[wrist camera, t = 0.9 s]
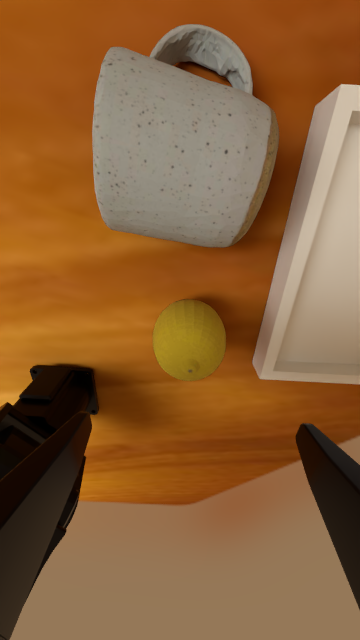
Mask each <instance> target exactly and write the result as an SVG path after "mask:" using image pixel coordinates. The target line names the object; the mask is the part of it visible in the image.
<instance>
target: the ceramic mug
mask: <svg viewBox="0 0 360 640" xmlns="http://www.w3.org/2000/svg"><path fill="white" fill-rule="evenodd" d="M182 61H183V62H187V61H191V62H195V63H198V64H200V65H203V66H205V67H207V68H209V69H211V70H214V71H216V72H217V73H218V74H219V75H221V76H224V77H226V78H227V79H228V80H229V82H230V83H231V85H232V87H230V86H226V85H223V84H219V83H216V82H212V81H209V80H206V79H204V78H201V77H199V76H196V75H194V74H191V73H189V72H186V71H184V70H182V69H179V68H177V67H174V66H172V65H175V64H176V63H178V62H182ZM252 88H253V83H252V76H251V70H250V66H249V64H248V62H247V60H246V58H245V56H244V54H243V53H242V51H241V50H240V49H239V47H238V46H237V45H236V44H235V43H234V42H233V41H232V40H231V39H230V38H228V37H227V36H226V35H224V34H222V33H221V32H219V31H217V30H215V29H213V28H210V27H207V26H204V25H197V24H188V25H182V26H178V27H176V28H174V29H173V30H171V31H169V32H168V33H167V34H166V35H165V36H164V37H162V38H161V40H160V41H159V42H158V43H157V45H156V46H155V47H154V49H153V51H152V53H151V55H150V57H147V56H144V55H142V54H139V53H136V52H134V51H131V50H129V49H126V48H123V47H111V48H110V49H109V51H108V52H107V53H106V56H105V58H104V60H103V63H102V65H101V71H100V75H99V79H98V82H97V88H96V95H95V101H94V116H93V169H94V183H95V193H96V198H97V202H98V206H99V209H100V211H101V215H102V218H103V220H104V222H105V224H106V225H107V226H108V227H109V228H111V229H112V230H116V231H121V232H127V233H134V234H139V235H143V236H149V237H154V238H160V239H166V240H172V241H179V242H183V243H188V244H193V245H198V246H205V247H229V246H231V245H233V244H235V243H236V242H238V241H239V240H240V239H241V238H242V237H243V236H244V235H245V234H246V233H247V231H248V230H249V228H250V226H251V225H252V223H253V221H254V219H255V218H256V216H257V213H258V211H259V209H260V207H261V205H262V202H263V200H264V197H265V195H266V192H267V189H268V186H269V183H270V180H271V176H272V173H273V169H274V165H275V160H276V155H277V150H278V143H279V128H278V123H277V119H276V115H275V113H274V111H273V110H272V109H271V108H270V107H269V106H268V105H266V104H265V103H263V102H262V101H260V100H259V99H257V98H255V97H254V96H252Z"/></svg>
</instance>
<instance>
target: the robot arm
mask: <svg viewBox="0 0 360 640" xmlns="http://www.w3.org/2000/svg"><path fill="white" fill-rule="evenodd" d="M35 370H36V371H35ZM30 373H31V376H32V380H33V381H32V382H31V384H30V385H29V386H28V387H27V388H26V389H25V390H24V391H23V392H22V393H21V394H20V396H19V397H20V399H19V400H18V401H17V402H16V403H15V404H14V405H11V404H10V403H8V402H7V403H5V404H4V405H2V406H1V407H0V640H9V639H10V637H11V635H12V632H13V630H14V627H15V625H16V623H17V620H18V618H19V615H20V613H21V611H22V608H23V606H24V604H25V602H26V600H27V598H28V596H29V594H30V592H31V590H32V588H33V585H34V583H35V581H36V579H37V577H38V576H39V574H40V572H41V570H42V568H43V566H44V564H45V563H46V561H47V560H48V558H49V556H50V554H51V553H52V552H53V550H54V549H55V547H56V546H57V545H58V543H59V542H60V540H61V539H62V537H63V536H64V535H65V533H66V528H67V526H68V524H69V523H70V521H71V519H72V517H73V515H74V512H75V509H76V507H77V503H78V499H79V494H80V488H81V482H82V477H83V471H84V465H85V460H86V456H84V453H85V450H86V446H87V443H88V440H89V436H90V433H91V429H92V423H91V418H90V414H92V415H95V414H97V413H98V411H99V406H98V400H97V394H96V388H95V381H94V375H93V371H92V370H91V369H88V368H69V367H50V366H33V367H32V368H31V369H30ZM87 373H88V374H87ZM296 443H297V446H298V450H299V453H300V456H301V460H302V463H303V466H304V470H305V473H306V476H307V479H308V482H309V485H310V487H311V490H312V492H313V495H314V497H315V500H316V502H317V505H318V507H319V510H320V512H321V515H322V517H323V520H324V522H325V525H326V527H327V530H328V532H329V535H330V537H331V539H332V542H333V545H334V547H335V550H336V552H337V554H338V557H339V559H340V562H341V565H342V567H343V569H344V572H345V574H346V577H347V579H348V582H349V584H350V587H351V589H352V592H353V594H354V597H355V599H356V602H357V604H358V607H359V609H360V465H359V464H358V463H357V462H355V461H354V460H353V459H352V458H351V457H350V456H349V455H347V454H346V453H345V452H344V451H343V450H342V449H341V448H339V447H338V446H337V445H336V444H335V443H334V442H332V441H331V440H330V439H329V438H328V437H327V436H326V435H324V434H323V433H322V432H321V431H320V430H319V429H317V428H316V427H315V426H314V425H312V424H306V423H302V424H301V425H300V427H299V429H298V432H297V434H296Z"/></svg>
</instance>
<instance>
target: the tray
mask: <svg viewBox="0 0 360 640" xmlns="http://www.w3.org/2000/svg"><path fill="white" fill-rule="evenodd" d="M252 364H253V366H254V368H255V370H256V372H257V374H258V377H259V379H268V380H287V381H306V382H325V383H344V384H360V85H346V84H341V85H340V86H339V87H337V88H336V89H335V90H334V91H333V92H331V93H330V94H329V95H328V96H327V97H325V98H324V99H323V100H322V101H321V102H320V103H318V104H317V105H316V106H315V109H314V113H313V117H312V121H311V125H310V129H309V133H308V137H307V141H306V146H305V150H304V154H303V158H302V162H301V166H300V170H299V174H298V178H297V182H296V186H295V190H294V194H293V198H292V202H291V206H290V210H289V215H288V219H287V223H286V227H285V231H284V235H283V239H282V243H281V247H280V251H279V255H278V259H277V263H276V267H275V271H274V275H273V280H272V284H271V288H270V292H269V296H268V300H267V304H266V308H265V312H264V316H263V320H262V324H261V328H260V332H259V336H258V340H257V345H256V349H255V353H254V357H253V361H252Z"/></svg>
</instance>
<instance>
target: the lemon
mask: <svg viewBox="0 0 360 640" xmlns="http://www.w3.org/2000/svg"><path fill="white" fill-rule="evenodd" d="M153 349H154V353H155V356H156V359H157V361H158V363H159V364H160V366H161V367H162V369H163V370H165V371H166V372H167V373H168V374H169V375H171V376H173V377H174V378H177V379H180V380H184V381H196V380H200V379H203V378H205V377H207V376H209V375H210V374H212V373H213V372H214V371H215V370H216V369H217V368H218V366H219V365H220V363H221V362H222V359H223V356H224V353H225V350H226V332H225V329H224V325H223V322H222V320H221V319H220V317H219V315H218V314H217V312H216V311H215V310H214V309H213V308H211V307H210V306H209V305H208V304H206V303H204V302H202V301H199V300H194V299H183V300H180V301H176V302H174V303H172V304H171V305H169V306H168V307H167V308H166V309H164V310H163V311H162V313H161V314H160V316H159V317H158V319H157V321H156V323H155V327H154V330H153Z"/></svg>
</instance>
